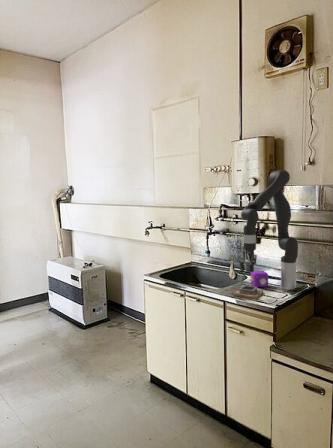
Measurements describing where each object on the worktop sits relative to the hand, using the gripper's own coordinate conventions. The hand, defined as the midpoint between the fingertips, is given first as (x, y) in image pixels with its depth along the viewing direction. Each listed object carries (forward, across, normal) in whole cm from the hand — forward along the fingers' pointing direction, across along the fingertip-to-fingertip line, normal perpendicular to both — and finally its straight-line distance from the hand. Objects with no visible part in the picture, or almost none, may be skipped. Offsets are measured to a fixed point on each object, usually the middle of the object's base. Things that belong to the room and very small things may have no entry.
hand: (249, 269), depth 209 cm
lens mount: (+16, +1, 0) cm, 16 cm away
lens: (+1, 0, 0) cm, 1 cm away
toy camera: (+16, +14, -15) cm, 26 cm away
